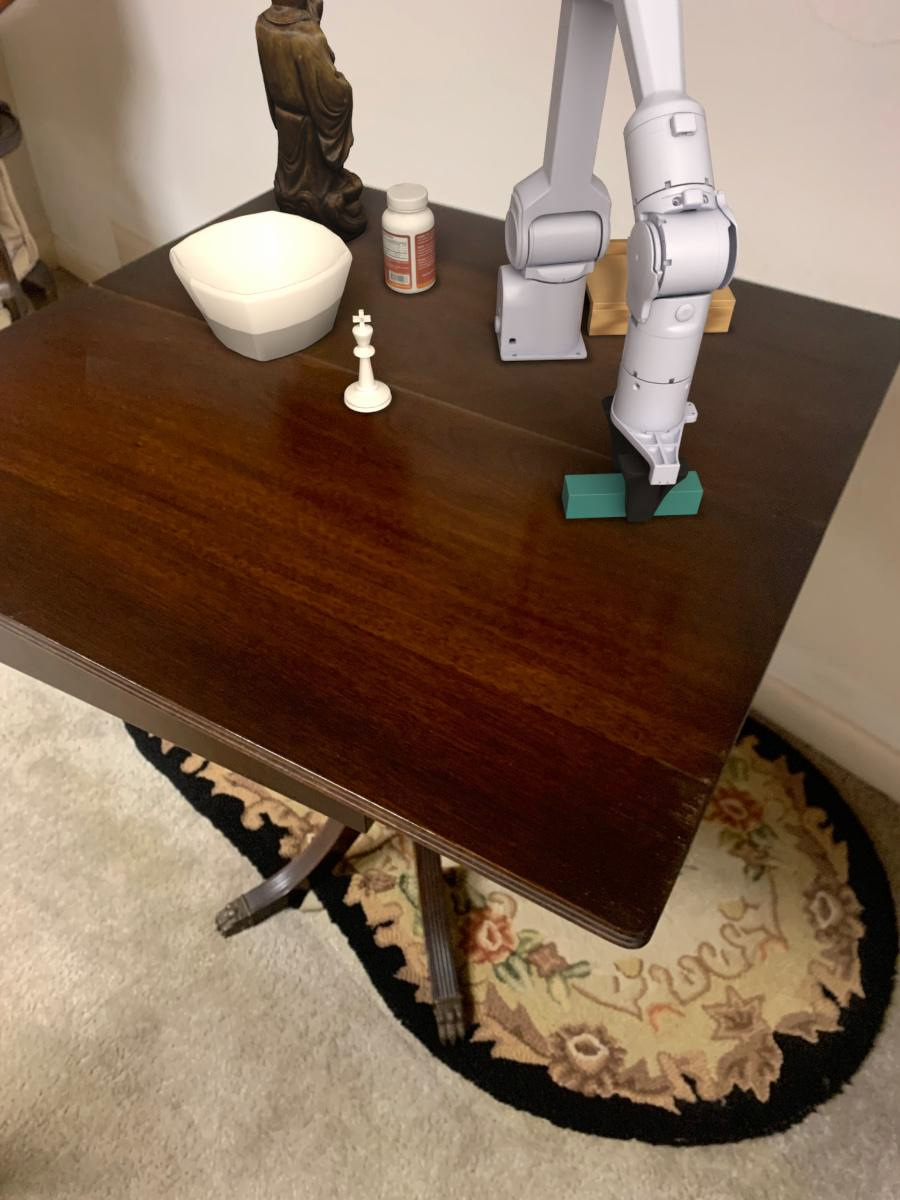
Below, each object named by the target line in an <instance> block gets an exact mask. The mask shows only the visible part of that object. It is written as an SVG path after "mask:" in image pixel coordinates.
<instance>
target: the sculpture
mask: <svg viewBox="0 0 900 1200" xmlns="http://www.w3.org/2000/svg"><path fill="white" fill-rule="evenodd" d="M270 1H271V5H270V6H269V7H268V8H267V9H265V10H263V11H262V12H261V13H260V14H259V15H257V18H256V21H255V26H254V32H255V40H256V47H257V55H258V61H259V65H260V70H261V76H262V81H263V87H264V91H265V96H266V97H265V98H266V101H267V106H268V111H269V112H268V113H269V115H270V119H271V122H272V124H273V127H274V129H275V130H276V132H277V133H276V134H277V157H276V158H277V159H276V160H277V161H276V168H275V172H274V179H273V193H274V194H273V195H274V201H275V204H276V207H277V208H278V209H279V212H282V213H287V214H291V215H296V216H300V217H302V218H305V219H308V220H310V221H313V222H316V223H318V224H321V225H323V226H324V227H326V228H327V229H329V230H330V231H332V232H333V233H334V234H336V235H337V236H339V237H340V238H341V240H342V241H343V242H344V243H345V242H347V241H350V240H351V239H354V238H356V237H358V236H359V235H360V234H362V232H363V231H364V230H365V229H366V228H367V224H368V216H367V215H366V214H365V213H366V212H365V207H364V204H363V201H362V200H361V198H360V197H361V195H362V193H363V190H364V184H363V180H362V179H361V177H360V176H359V175H358V174H357V173H355V172H353V171H351V170H349V169H347V168H346V167H345V163H346V162H347V160H348V158H349V155H350V152H351V149H352V147H353V146H354V142H355V137H354V132H353V113H354V111H353V110H354V95H353V94H354V93H353V87H352V84H351V83H350V82H349V81H348V79H347V78H346V76H345V74H344V73H343V72H342V71H339V70H337V67H336V66H335V62H336V54H335V52H334V51H333V49H332V47H331V46H330V44H329V42H328V39H327V37H326V35H325V33H324V30H323V29H322V27H321V21H322V18H323V14H324V0H270Z"/></svg>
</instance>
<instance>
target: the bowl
mask: <svg viewBox="0 0 900 1200" xmlns="http://www.w3.org/2000/svg"><path fill="white" fill-rule="evenodd" d="M168 256H169V261H170V263H171V267H172V268H173V271H174V273H175V274H176V276H177V278H178V279H179V281H180V282H181V284H182V285H183V287H184V289H185V291H186V292H187V294H188V295H189V297H190V298H191V300H192V301H193V303H194V305H195V307H197V309H198V311H199V312H200V313H201V315H202V317H203V318H204V320H205V322H206V323H207V325H208V326H209V328H210V329H211V331H212V332H213V334H214V336H215V337H216V338H217V339H218V341H220V342H221V343H222V344H223V345H224V346H225V348H227V349H230V350H231V351H233V352H236V353H237V354H240V355H242V356H244V357H246V358H249V359H253V360H256V361H258V362H269V361H271V360H272V361H273V360H275V359H279V358H283V357H286V356H289V355H292V354H295V353H297V352H300V351H303V350H305V349H307V348H308V347H310V346H312V345H313V344H315V343H316V342H318V341H320V340H321V339H323V338H324V337H325V336H326V335H328V334H329V333H330V332H331V331H332V330H333V328H334V324H335V321H336V318H337V314H338V310H339V307H340V303H341V299H342V296H343V293H344V291H345V286H346V283H347V280H348V276H349V273H350V270H351V269H350V268H351V265H352V262H353V255H352V252H351V251H350V249H349V247H348V246H347V245H346V244H345V241H344V242H343V241H342V240H341V238H340V237H339V236H337V235H336V234H334V233H333V232H332V231H330V230H329V229H327V228H326V227H324V226H323V225H321V224H318V223H316V222H313V221H310V220H308V219H305V218H302V217H300V216H296V215H291V214H287V213H282V212H281V211H276V210H267V211H262V212H256V213H251V214H246V215H240V216H236V217H234V218H230V219H227V220H223V221H221V222H216V223H213V224H211V225H208V226H207V227H204V228H203V229H200V230H199V231H196V232H194V233H192V234H190V235H188V236H187V237H185V238H184V239H182V241H180V242H179V243H177V244H176V245H174V246H173V247H172V248H170V250H169V254H168Z"/></svg>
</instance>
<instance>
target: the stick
mask: <svg viewBox="0 0 900 1200" xmlns="http://www.w3.org/2000/svg"><path fill="white" fill-rule="evenodd" d="M563 477H564V478H563V486H562V491H561V501H562V506H563V511H564V516H565V519H566V520H567V519H594V518H623V517H626V513H625V480H624V477H623V475H622V473H619V474H614V473H597V474H596V473H593V474H592V473H591V474H590V473H587V474H567V475H566V474H565V475H564V476H563ZM703 494H704V489H703V486H702V484H701V481H700V478H699V475H698V473H697V471H696V470H689V472H688V475H687V477H686V478H685V479H684V480H682V481H681V482H679V483H678V484H677V485H676V486H674V487H673V488H672V489H671V490H670V491H669V493H668V494H667V495H666V496H665V498H664V499H663V501H662V502H661V504H660V505H659V507H658V509H657V510H656V512H655V514H654V515H653V517H654V516H682V515H683V516H684V515H685V516H686V515H687V516H688V515H697V514H698V511H699V507H700V504H701V500H702V497H703Z"/></svg>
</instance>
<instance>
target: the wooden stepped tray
mask: <svg viewBox="0 0 900 1200" xmlns="http://www.w3.org/2000/svg"><path fill="white" fill-rule="evenodd" d="M627 240H628V238H610V243H609V247H608V250H607V252H606V254H605V255H604V257H603V259H602V260H601V261H600V262H594V269H593V272H592V273H587V280H586V288H585V291H586V293H587V297H588V299H589V303H590V304H589V311H588V318H587V327H586V330H587V334H588V336H623V335H624V336H626V332H627V326H628V320H629V315H630V310H629V308H628V307H627V305H626V289H627V281H628V274H627V260H626V252H627ZM711 293H712V299H711V303H710V307H709V311H708V315H707V320H706V324H705V327H704V332H703V334H704V333H728V331H729V328H730V324H731V321H732V317H733V312H734V309H735V305H736V301H737V300H736V298H735V295H734V294H733V291H732V290H731V288H730V285H728V286H727V287H726V288H724V289H722V290H715V291H713V292H711Z"/></svg>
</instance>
